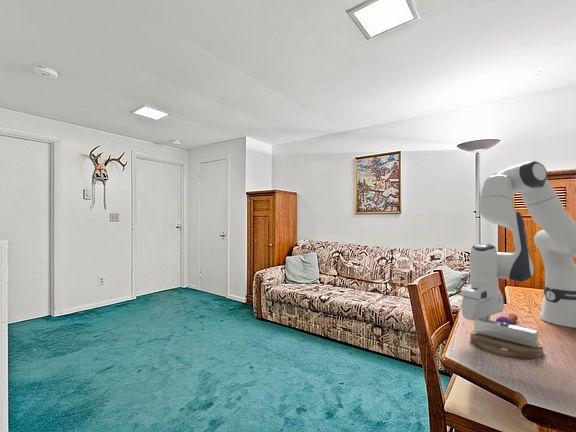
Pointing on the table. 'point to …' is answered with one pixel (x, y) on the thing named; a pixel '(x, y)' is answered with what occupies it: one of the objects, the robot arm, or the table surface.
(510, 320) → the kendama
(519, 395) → the table surface
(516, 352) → the lock plate
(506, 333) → the bar
